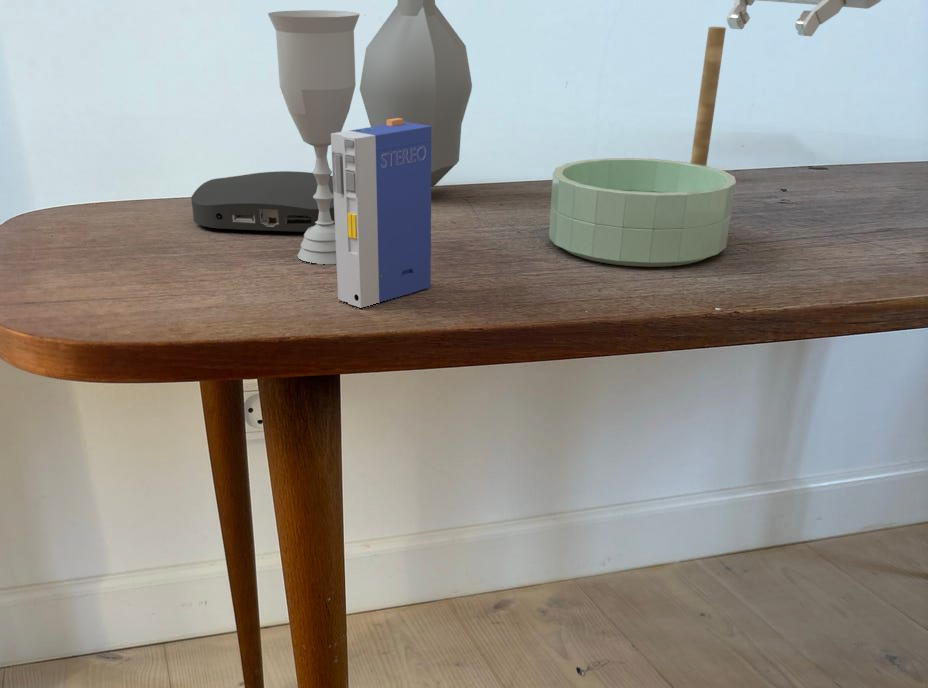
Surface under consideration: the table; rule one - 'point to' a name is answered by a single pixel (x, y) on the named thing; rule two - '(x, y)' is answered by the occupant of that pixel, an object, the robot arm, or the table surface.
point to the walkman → (382, 211)
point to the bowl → (641, 211)
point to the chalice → (317, 99)
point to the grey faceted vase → (419, 78)
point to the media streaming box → (260, 202)
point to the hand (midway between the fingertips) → (766, 28)
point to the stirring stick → (708, 94)
